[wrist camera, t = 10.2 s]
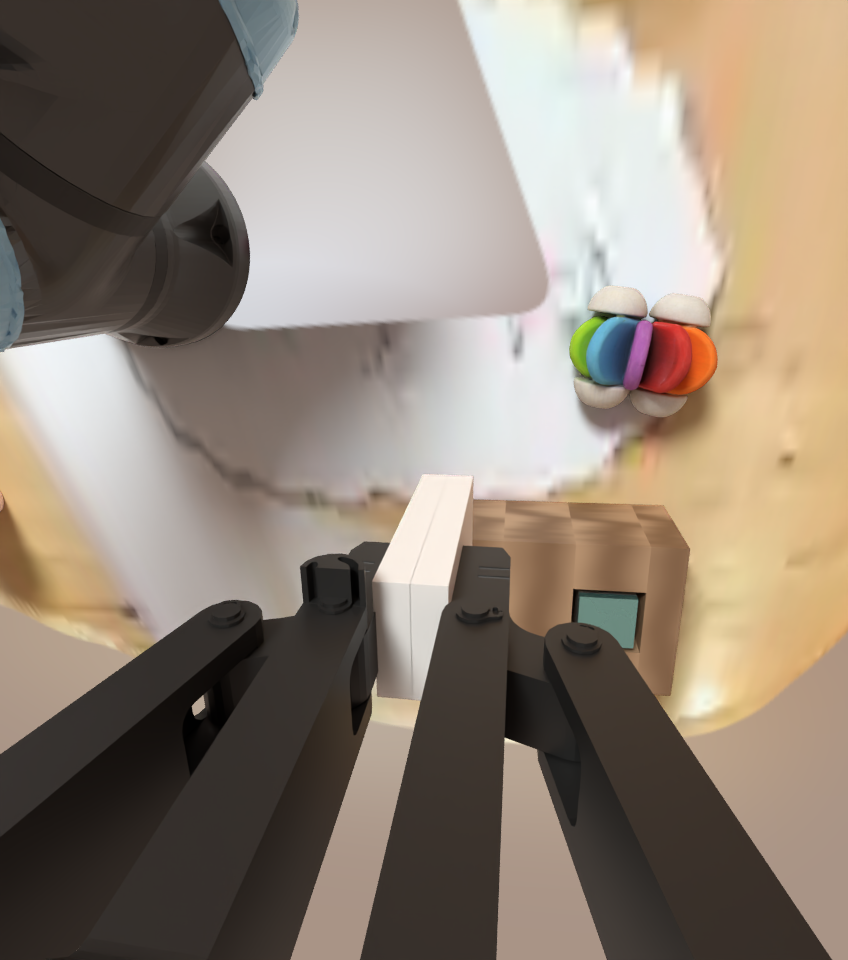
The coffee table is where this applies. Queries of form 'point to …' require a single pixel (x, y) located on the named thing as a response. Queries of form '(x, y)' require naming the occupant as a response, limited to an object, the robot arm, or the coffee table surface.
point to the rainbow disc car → (643, 351)
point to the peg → (607, 612)
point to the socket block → (593, 568)
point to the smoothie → (1, 502)
